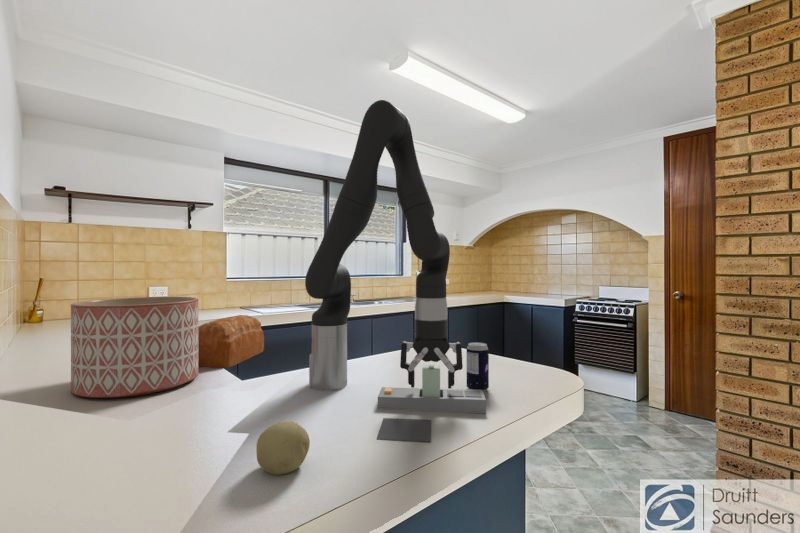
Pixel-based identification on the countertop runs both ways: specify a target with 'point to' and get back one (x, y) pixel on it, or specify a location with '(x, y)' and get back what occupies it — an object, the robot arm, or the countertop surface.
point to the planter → (133, 345)
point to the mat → (405, 430)
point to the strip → (433, 400)
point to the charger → (431, 381)
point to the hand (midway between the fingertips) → (431, 387)
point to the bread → (229, 341)
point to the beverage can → (477, 366)
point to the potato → (282, 447)
